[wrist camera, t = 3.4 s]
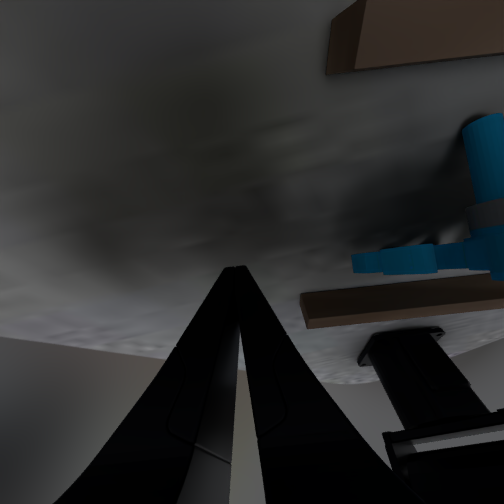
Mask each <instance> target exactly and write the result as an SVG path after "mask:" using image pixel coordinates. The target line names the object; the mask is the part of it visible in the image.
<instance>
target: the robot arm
mask: <svg viewBox="0 0 504 504" xmlns="http://www.w3.org/2000/svg"><path fill="white" fill-rule="evenodd" d="M240 333H241V339H242V346H243V352H244V359H245V365H246V372H247V378H248V384H249V391H250V397H251V404H252V410H253V417H254V423H255V430H256V436H257V439H258V440H257V443H258V449H259V456H260V463H261V469H262V477H263V485H264V492H265V500H266V504H504V440H500V441H492V442H486V443H479V444H472V445H465V446H458V447H451V448H444V449H437V450H431V451H423V452H417V451H416V449H415V447H414V446H413V445H415V444H421V443H427V442H433V441H439V440H446V439H452V438H458V437H464V436H471V435H476V434H483V433H489V432H495V431H501V430H504V408H503V409H497V411H498V412H493V413H491V412H490V411H489V410H488V409H487V407H486V406H485V405H484V404H483V402H482V401H481V400H480V399H479V397H478V396H477V395H476V394H475V392H474V391H473V390H472V389H471V387H470V385H471V384H470V383H469V381H468V380H467V379H466V378H465V376H464V375H463V374H462V373H461V372H460V370H459V369H458V368H457V366H456V365H455V364H454V363H453V361H452V360H451V359H450V358H449V357H448V355H447V354H446V353H445V352H444V350H443V349H442V348H441V347H440V345H439V344H438V343H437V341H438V340H439V339H440V338H441V337H442V336H443V335H444V334H445V332H444V330H443V329H442V328H434V329H424V330H415V331H406V332H396V333H387V334H378V335H375V336H373V337H372V339H371V340H370V342H369V343H368V345H367V347H366V348H365V350H364V351H363V353H362V355H361V356H360V358H359V359H358V361H357V363H358V365H359V366H360V367H363V366H373V367H374V369H375V371H376V373H377V375H378V377H379V379H380V381H381V383H382V385H383V387H384V389H385V391H386V393H387V395H388V397H389V399H390V401H391V403H392V405H393V407H394V409H395V411H396V413H397V415H398V417H399V419H400V421H401V423H402V425H403V427H404V429H405V430H401V431H396V432H383V433H382V436H383V439H384V442H385V448H386V451H387V454H388V457H389V461H390V464H391V467H392V470H393V471H392V470H391V469H390V468H389V467H388V466H387V465H386V464H385V463H384V462H383V460H382V459H381V458H380V457H379V456H378V455H377V454H376V452H375V451H374V450H373V449H372V448H371V447H370V446H369V444H368V443H367V442H366V441H365V440H364V438H363V437H362V436H361V435H360V434H359V432H358V431H357V430H356V429H355V427H354V426H353V425H352V423H351V422H350V421H349V419H348V418H347V417H346V416H345V414H344V413H343V412H342V410H341V409H340V408H339V407H338V405H337V404H336V403H335V402H334V400H333V399H332V397H331V396H330V395H329V394H328V392H327V391H326V390H325V388H324V387H323V386H322V385H321V383H320V382H319V381H318V379H317V378H316V376H315V375H314V374H313V372H312V371H311V370H310V368H309V367H308V365H307V364H306V363H305V361H304V360H303V358H302V357H301V355H300V354H299V352H298V351H297V349H296V347H295V346H294V344H293V343H292V341H291V339H290V338H289V336H288V335H287V333H286V331H285V330H284V328H283V326H282V325H281V323H280V321H279V320H278V318H277V316H276V315H275V313H274V311H273V310H272V308H271V306H270V305H269V303H268V301H267V300H266V298H265V296H264V295H263V293H262V291H261V290H260V288H259V286H258V285H257V283H256V282H255V280H254V278H253V277H252V275H251V273H250V272H249V270H248V268H247V267H246V266H245V265H242V266H236V267H234V266H233V267H225V268H224V269H223V271H222V272H221V274H220V276H219V277H218V279H217V280H216V282H215V284H214V285H213V287H212V288H211V290H210V292H209V293H208V295H207V296H206V298H205V300H204V301H203V303H202V304H201V306H200V307H199V309H198V311H197V312H196V314H195V315H194V317H193V319H192V320H191V322H190V323H189V325H188V327H187V328H186V330H185V331H184V333H183V335H182V336H181V338H180V339H179V341H178V342H177V344H176V346H177V347H174V349H173V350H172V352H171V353H170V355H169V357H168V358H167V360H166V361H165V363H164V364H163V366H162V367H161V369H160V371H159V372H158V373H157V375H156V376H155V378H154V379H153V381H152V382H151V383H150V385H149V386H148V387H147V389H146V390H145V392H144V393H143V394H142V396H141V397H140V398H139V400H138V401H137V402H136V404H135V405H134V406H133V408H132V409H131V410H130V412H129V413H128V414H127V416H126V417H125V419H124V420H123V421H122V422H121V424H120V425H119V426H118V428H117V429H116V430H115V432H114V433H113V434H112V436H111V437H110V438H109V440H108V441H107V442H106V444H105V445H104V446H103V448H102V449H101V450H100V452H99V453H98V454H97V455H96V457H95V458H94V460H93V461H92V462H91V463H90V464H89V466H88V467H87V468H86V469H85V470H84V472H83V473H82V474H81V475H80V476H79V477H78V478H77V480H76V481H75V482H74V483H73V484H72V485H71V486H70V487H69V488H68V489H67V490H66V491H65V492H64V493H63V494H62V495H61V496H60V498H58V500H56V501H55V502H54V503H53V504H229V493H230V478H231V477H230V476H231V461H232V446H233V431H234V414H235V400H236V384H237V369H238V353H239V338H240Z"/></svg>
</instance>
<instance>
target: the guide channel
mask: <svg viewBox="0 0 504 504" xmlns="http://www.w3.org/2000/svg"><path fill="white" fill-rule="evenodd" d="M496 55H504V0H357V1H356V2H355V3H353V4H352V5H351V6H349V7H348V8H347V9H345V10H344V11H343V12H341V13H340V14H339V15H337V16H336V17H335V18H334V19H332V25H331V34H330V43H329V52H328V60H327V69H326V75H329V74H338V73H347V72H356V71H364V70H373V69H382V68H391V67H399V66H408V65H417V64H426V63H434V62H443V61H452V60H461V59H469V58H478V57H487V56H496ZM300 307H301V310H302V313H303V317H304V320H305V323H306V327H307V329H314V328H324V327H333V326H342V325H352V324H361V323H370V322H380V321H389V320H398V319H408V318H417V317H426V316H436V315H445V314H454V313H464V312H473V311H482V310H492V309H501V308H504V281H496V280H492V278H491V274H481V275H471V276H462V277H453V278H444V279H434V280H425V281H416V282H407V283H397V284H388V285H379V286H370V287H360V288H351V289H342V290H333V291H323V292H314V293H305V294H301V297H300Z"/></svg>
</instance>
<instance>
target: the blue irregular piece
mask: <svg viewBox="0 0 504 504" xmlns="http://www.w3.org/2000/svg"><path fill="white" fill-rule="evenodd" d="M462 135H463V140H464V145H465V150H466V155H467V160H468V165H469V170H470V175H471V180H472V184H473V189H474V194H475V199H476V204H475V205H472V206H469V207H467V208H466V214H467V220H468V225H469V230H470V235H471V238H465V239H464V242H459V243H451V244H442V245H433V244H421V245H413V246H405V247H397V248H389V249H382V250H380V252H369V253H360V254H354V255H351V257H352V265H353V272H354V273H377V272H383V274H384V275H403V274H429V273H437V272H438V270H439V269H462V268H469V270H490V274H491V278H492V280H496V281H504V118H503V114H502V113H496V114H491V115H488V116H485V117H483V118H480V119H478V120H476V121H474V122H472V123H470V124H469V125H467V126H466V127H465V128H464V129H463V130H462Z"/></svg>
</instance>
